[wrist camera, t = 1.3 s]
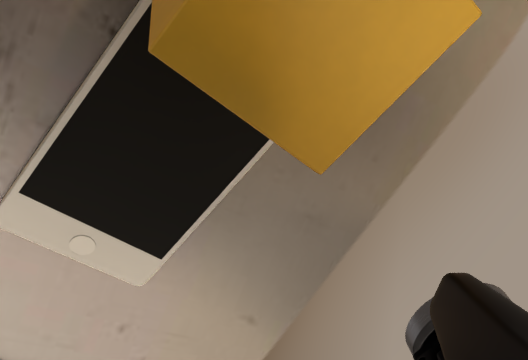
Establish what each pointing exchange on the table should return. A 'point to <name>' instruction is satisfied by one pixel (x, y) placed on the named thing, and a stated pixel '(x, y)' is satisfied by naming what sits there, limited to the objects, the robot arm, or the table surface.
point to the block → (306, 61)
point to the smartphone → (130, 163)
